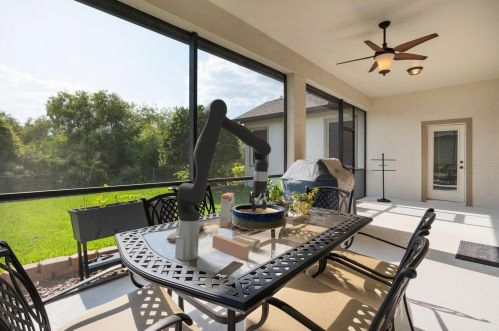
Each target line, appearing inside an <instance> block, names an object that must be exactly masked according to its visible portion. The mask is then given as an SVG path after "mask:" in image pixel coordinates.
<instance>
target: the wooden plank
mask: <svg viewBox="0 0 499 331" xmlns="http://www.w3.org/2000/svg"><path fill="white" fill-rule="evenodd" d="M243 265H244V263H243V262H240V261H236V260H232V261H231V262H230V263H228V264H227V265H225V266H224V267H222V269H219V270H218V271H217V272H215V273H214V274H213V276H214V275H217V274H221V275H229V274H230V275H232V274H233V273H234V272H235V271H237V270H238V269H239V268H241V266H243ZM233 271H234V272H233ZM232 272H233V273H232ZM230 275H229V276H230Z"/></svg>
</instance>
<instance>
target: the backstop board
mask: <svg viewBox="0 0 499 331" xmlns="http://www.w3.org/2000/svg"><path fill="white" fill-rule="evenodd" d="M211 244H212V245H211V246H212V249H213V248H214V249H216V250H218V251H220V252H224V253H225V254H228V255H231V256H233V257H235V258H238V259H240V260H241V261H242V260H243V261H246V260H249V256H250V255H249V254H250V253H249V252H250V251H249V245H246V244H243V243H240V242H237V241H235V239H231V238H229V237H225V236H224V235H220V234H213V235H212V243H211Z"/></svg>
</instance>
